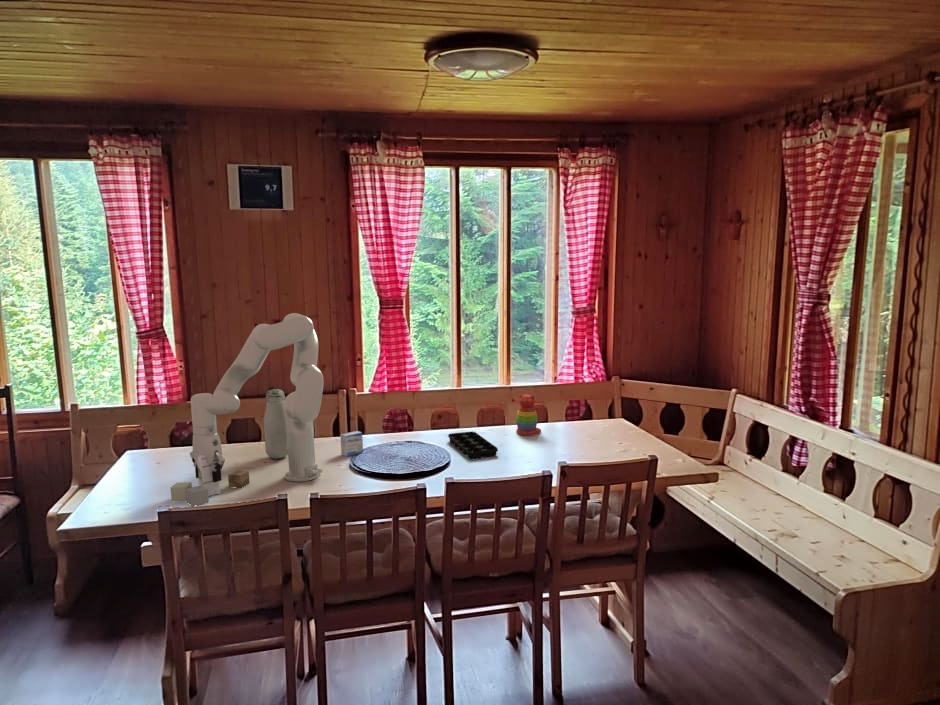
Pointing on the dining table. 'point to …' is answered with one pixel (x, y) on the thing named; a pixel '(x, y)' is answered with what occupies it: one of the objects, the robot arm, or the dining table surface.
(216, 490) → the syrup box
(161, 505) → the dining table surface
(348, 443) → the medicine box
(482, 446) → the egg carton
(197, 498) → the slate grey cube
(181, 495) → the sage green cube
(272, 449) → the glass bottle
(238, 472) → the walnut cube
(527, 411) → the stacking bear
